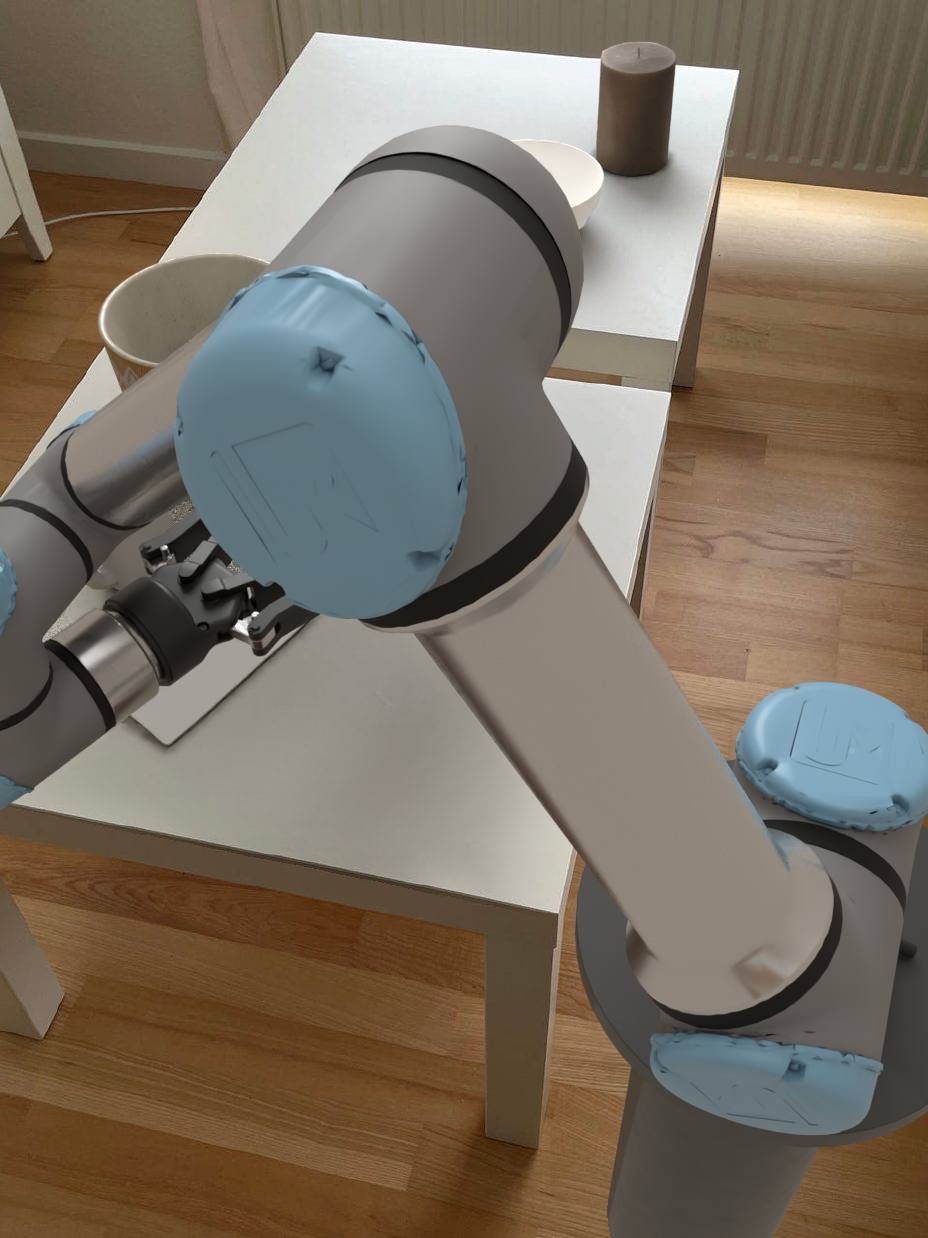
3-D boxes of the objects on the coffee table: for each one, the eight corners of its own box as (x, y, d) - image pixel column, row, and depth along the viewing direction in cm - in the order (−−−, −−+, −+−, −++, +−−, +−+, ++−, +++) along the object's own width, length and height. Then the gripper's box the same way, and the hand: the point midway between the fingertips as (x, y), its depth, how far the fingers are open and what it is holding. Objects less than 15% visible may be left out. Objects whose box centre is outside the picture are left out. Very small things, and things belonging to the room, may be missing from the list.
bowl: (628, 244, 154) (632, 190, 148) (495, 283, 149) (494, 229, 144) (557, 179, 165) (559, 126, 160) (432, 213, 160) (429, 160, 155)
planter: (181, 374, 139) (149, 241, 126) (345, 398, 135) (329, 263, 123) (104, 487, 126) (61, 352, 114) (283, 517, 123) (257, 380, 110)
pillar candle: (659, 180, 164) (669, 66, 153) (587, 171, 166) (592, 58, 155) (674, 145, 170) (685, 33, 159) (604, 137, 172) (610, 26, 161)
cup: (199, 563, 119) (180, 493, 112) (119, 626, 113) (95, 557, 107) (147, 532, 122) (126, 462, 115) (68, 592, 116) (41, 523, 110)
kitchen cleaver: (165, 741, 103) (85, 675, 107) (168, 752, 105) (88, 687, 108) (410, 533, 119) (333, 482, 123) (410, 545, 121) (333, 494, 124)
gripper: (62, 614, 95) (285, 464, 106) (232, 756, 86) (458, 575, 97) (34, 544, 90) (273, 393, 101) (213, 687, 80) (455, 503, 91)
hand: (363, 483), depth 99 cm, fingers closed on food, 7 cm apart
